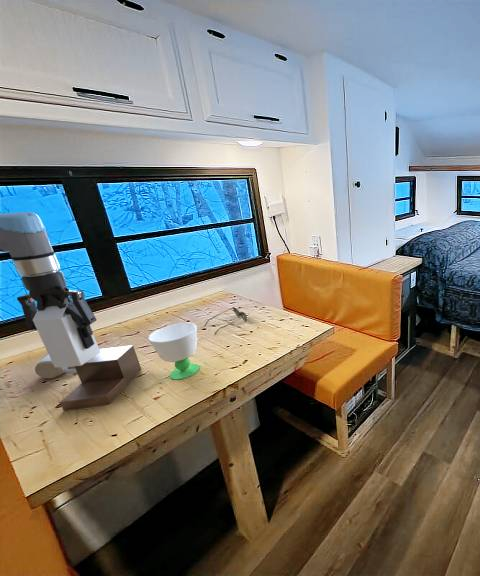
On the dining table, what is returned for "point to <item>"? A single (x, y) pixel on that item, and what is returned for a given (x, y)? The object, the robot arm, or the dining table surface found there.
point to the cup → (177, 347)
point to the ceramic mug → (50, 368)
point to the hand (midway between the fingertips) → (73, 347)
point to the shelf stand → (103, 377)
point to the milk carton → (62, 337)
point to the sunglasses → (236, 315)
